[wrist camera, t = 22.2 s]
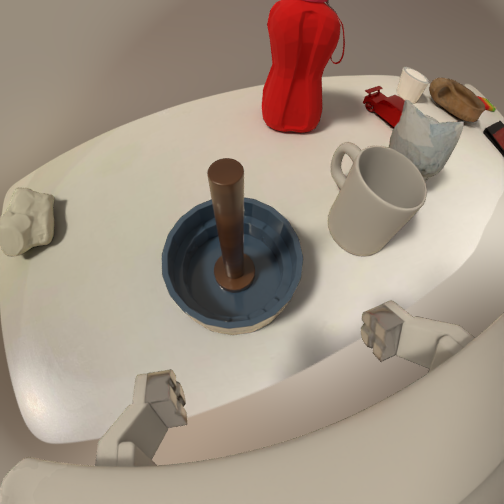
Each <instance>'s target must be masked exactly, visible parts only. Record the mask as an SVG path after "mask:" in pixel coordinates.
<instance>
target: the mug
mask: <svg viewBox="0 0 504 504" xmlns="http://www.w3.org/2000/svg"><path fill="white" fill-rule="evenodd" d="M345 153H346V154H347V155H348V156H349V157H350V158H351V159H352V161H353V165H352V167H351V169H350V171H349V173H348V176H347V178H346V177H345V175H344V174H343V172H342V169H341V162H342V159H343V156H344V154H345ZM331 174H332V177H333V179H334V181H335V182H336V184H337V185H338V187H339V188H340V189H341V190H340V192H339V194H338V196H337V198H336V200H335V202H334V203H333V205H332V207H331V209H330V212H329V215H328V227H329V230H330V233H331V235H332V237H333V239H334V240H335V241H336V243H337V244H338V245H339V246H340V247H341V248H343V249H344V250H345V251H347V252H349V253H351V254H354V255H358V256H369V255H372V254H375V253H377V252H378V251H379V250H381V249H382V248H383V247H384V246H385V245H386V244H387V243H388V241H389V240H390V239H391V238H392V237H393V236H394V235H395V234H396V233H397V232H398V231H399V230H400V229H401V228H402V227H403V226H404V225H405V224H406V223H407V222H408V221H409V220H410V219H411V218H412V217H413V216H414V215H415V214H416V213H417V211H418V210H419V209H420V208H421V207H422V206H423V204H424V202H425V200H426V195H427V190H426V184H425V181H424V179H423V177H422V175H421V173H420V171H419V170H418V169H417V167H416V166H415V165H414V164H413V163H412V162H411V161H410V160H409V159H408V158H407V157H405V156H404V155H403V154H401V153H399V152H397V151H396V150H393V149H391V148H388V147H384V146H370V147H367V148H365V149H363V150H361V149H360V148H358V147H357V146H356V145H355V144H353V143H350V142H345V143H343V144H341V145H340V146H339V147H338V148H337V149H336V151H335V153H334V155H333V158H332V162H331Z"/></svg>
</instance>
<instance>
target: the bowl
mask: <svg viewBox="0 0 504 504" xmlns="http://www.w3.org/2000/svg"><path fill="white" fill-rule="evenodd" d="M429 91H430V95H431V97H432V98H433V100H434V101H435V102H436V103H438V104H439V105H440V106H442V107H443V108H444V109H446V110H447V111H448V112H450V113H451V114H453V115H454V116H456V117H458V118H460V119H462V120H464V121H468V122H475V121H477V120H478V118H479V117H480V115H481V114H482V112H483V111H485V105H484V103H483V102H482V101H481V99H479V98H478V97H477V96H476V95H475V94H474V93H473V92H472V91H471V90H469V89H468V88H466V87H465V86H463V85H462V84H460V83H458V82H456V81H454V80H450V79H445V78H437V79H435V80H433V81H432V83H431V84H430V87H429Z"/></svg>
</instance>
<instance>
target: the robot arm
mask: <svg viewBox="0 0 504 504" xmlns="http://www.w3.org/2000/svg"><path fill="white" fill-rule="evenodd" d="M362 321H363V322H364V324H363V326H362V327H361V336H362V340H363V341H364V343H365V344H366V346H367V347H370V348H373V354H374V355H375V356H376V357H377V358H378V359H379V360H380V362H382V361H384V360H386V359H388V358H390V357H392V356H394V355H397V356H399V357H401V358H404V359H406V360H408V361H411V362H413V363H416V364H418V365H421V366H424V367H426V368H429V371H428V374H426V375H425V376H423V377H421V378H420V379H418V380H417V381H415V382H413V383H412V384H410V385H409V386H407V387H405V388H404V389H402V390H400V391H398V392H397V393H395V394H393V395H392V396H389V397H388V398H386V399H384V400H382V401H380V402H379V403H376V404H374V405H372V406H370V407H369V408H366V409H364V410H363V411H360V412H358V413H356V414H354V415H352V416H350V417H347V418H345V419H343V420H341V421H338V422H336V423H334V424H331V425H329V426H326V427H324V428H321V429H318V430H316V431H313V432H311V433H308V434H305V435H302V436H299V437H296V438H293V439H290V440H287V441H284V442H281V443H278V444H274V445H271V446H267V447H263V448H260V449H256V450H252V451H248V452H244V453H239V454H235V455H230V456H226V457H220V458H215V459H209V460H203V461H197V462H189V463H180V464H171V465H159V466H157V465H156V464H155V463H154V462H153V461H152V458H153V456H154V455H155V452H156V451H157V449H158V447H159V445H160V443H161V442H162V440H163V438H164V436H165V434H166V432H167V431H168V428H172V427H178V426H183V425H187V413H186V411H185V409H184V405H185V404H186V401H185V395H184V391H183V389H182V386H181V384H180V383H179V382H177V381H176V375H175V373H174V372H173V370H171V369H170V370H165V371H158V372H152V373H147V374H140V375H137V376H136V379H135V386H134V394H133V403H132V405H129V406H128V407H127V408H126V409H125V411H124V412H123V413H122V414H121V415H120V417H119V418H118V419H117V420H116V421H115V422H114V424H113V425H112V426H111V427H110V428H109V430H108V431H107V432H106V433H105V434H104V436H103V437H102V438H101V439H100V440H99V442H98V448H97V455H96V464H95V466H89V465H77V464H68V463H60V462H53V461H47V460H42V459H37V458H31V457H27V458H24V459H23V460H21V461H20V462H19V463H18V464H17V465H16V466H14V467H13V468H12V469H11V470H10V471H9V472H8V473H7V474H6V475H5V477H4V479H3V481H2V484H1V487H0V504H504V313H503V314H501V315H500V316H499V317H498V318H497V319H496V320H495V321H494V322H493V323H492V324H491V325H490V326H489V327H488V328H486V329H485V330H484V331H483V332H482V333H481V334H480V335H478V336H477V337H476V338H475V337H474V336H472V335H471V334H470V333H468V332H467V331H466V330H465V329H463V328H462V327H461V326H460V325H456V324H451V323H445V322H441V321H436V320H432V319H427V318H422V317H417V316H416V317H413V316H411V315H410V314H409V313H408V312H406V311H405V310H404V309H403V308H402V307H400V306H399V305H398V304H397V303H395V302H394V301H391V300H390V301H388V302H386V303H384V304H382V305H379V306H377V307H375V308H372V309H370V310H368V311H365V312H363V314H362Z"/></svg>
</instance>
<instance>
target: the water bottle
mask: <svg viewBox="0 0 504 504" xmlns="http://www.w3.org/2000/svg"><path fill="white" fill-rule="evenodd" d="M324 2H326V3H327V5H328V0H281V1H278V2H277V3H275V4H274V6H273V7H272V9H271V10H270V14H269V18H268V23H267V26H268V31H269V37H270V44H271V53H272V63H273V64H272V67H271V69H270V72H269V75H268V78H267V80H266V83H265V86H264V88H263V97H262V115H263V119H264V121H265V123H266V124H267V126H269V127H271V128H272V129H275V130H277V131H283V132H287V131H295V132H300V133H302V132H309V131H312V130H313V129H315V128H316V126H317V124H318V123H319V121H320V117H321V113H322V74H323V71H324V68H325V66H326V64H327V63H328V61H329V59H330V58H331V56H332V54H333V52H334V50H335V48H336V46H337V43H338V40H339V35H340V26H341V25H340V23H339V20H340V19H339V18H337V17H338V16H337V13H336V12H335V11H334V9H332V8H331V7H330V6H329V5H328V6H327V5H326V4H325V3H324ZM338 19H339V20H338ZM341 24H342V22H341ZM342 29H343V38H344V28H343V24H342ZM343 41H344V42H343V53H342V57H341V59H340V61H341V60H342V58H343V55H344V47H345V39H343ZM331 59H332V58H331ZM331 61H332V60H331ZM340 61H339V62H336V63H335V62H333V63H334V64H338V63H340Z"/></svg>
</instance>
